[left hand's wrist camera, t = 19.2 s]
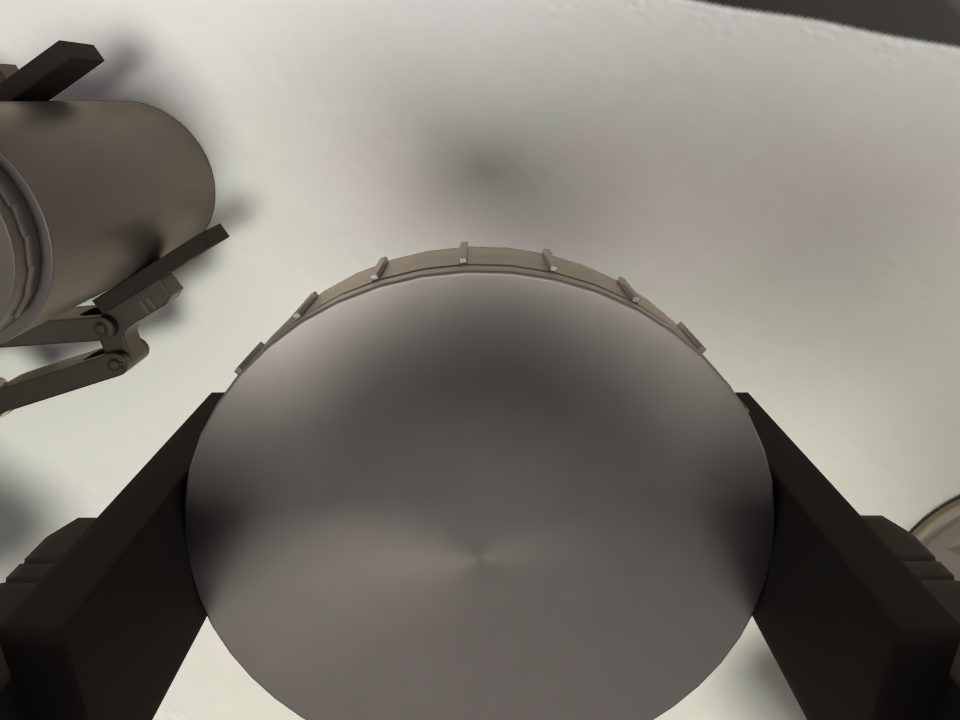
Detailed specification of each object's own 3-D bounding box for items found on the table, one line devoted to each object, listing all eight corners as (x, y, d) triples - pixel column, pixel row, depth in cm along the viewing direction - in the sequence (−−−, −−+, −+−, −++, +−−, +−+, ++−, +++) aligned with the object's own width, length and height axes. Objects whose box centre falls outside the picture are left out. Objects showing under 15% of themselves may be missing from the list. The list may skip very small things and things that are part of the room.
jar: (247, 194, 38) (81, 261, 22) (146, 288, 40) (-73, 411, 24) (128, 65, 36) (-153, 37, 20) (27, 171, 38) (-302, 224, 22)
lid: (244, 179, 10) (201, 193, 9) (827, 311, 11) (884, 347, 9) (198, 651, 14) (161, 723, 12) (648, 728, 14) (668, 805, 13)
